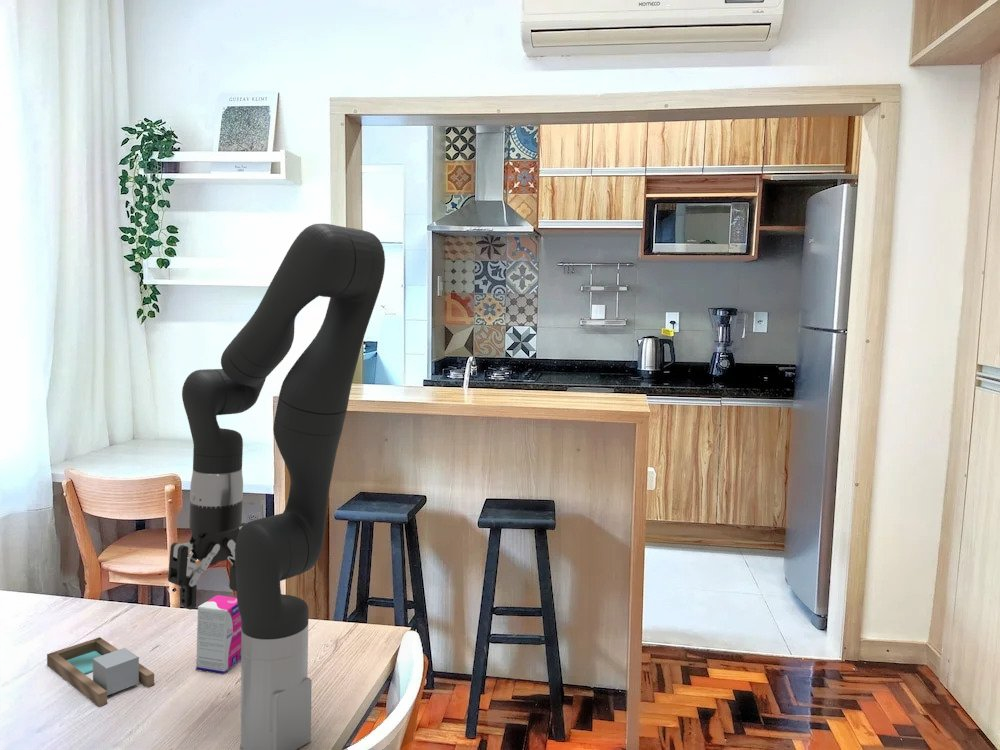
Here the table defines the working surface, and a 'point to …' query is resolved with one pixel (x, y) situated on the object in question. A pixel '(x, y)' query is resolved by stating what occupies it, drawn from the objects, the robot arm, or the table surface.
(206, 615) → the supplement box
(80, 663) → the wooden u-shaped frame
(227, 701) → the table surface
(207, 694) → the table surface
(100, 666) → the block
